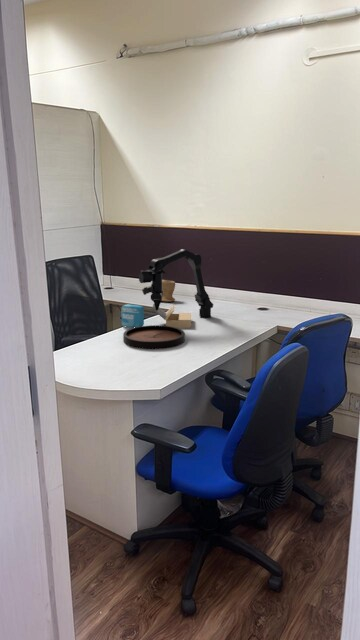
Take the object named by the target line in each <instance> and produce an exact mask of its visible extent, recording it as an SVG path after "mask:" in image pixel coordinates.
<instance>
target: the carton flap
mask: <svg viewBox="0 0 360 640" xmlns="http://www.w3.org/2000/svg"><path fill="white" fill-rule="evenodd" d="M151 310H152V311H154V312H155V313H156V314H157V315H158V316H160V318H162V319H163V320H164V321H166V320H167V319H168V317H169V316H170V315H171V314H174V313H175V312H174V311H175V304H173V305H172V306H170V308H169V309H168V310H167V311H166V312H165V311H164V310H163V309H162V308H160V307H159V308H158V310H156V309H155V304H154V303H153V304H152V307H151Z"/></svg>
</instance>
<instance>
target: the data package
mask: <svg viewBox="0 0 360 640" xmlns="http://www.w3.org/2000/svg"><path fill="white" fill-rule="evenodd" d="M144 308H145V307H144V306H143V305H140V304H128V303H127V304H124V305H122V306H121V312H120V313H121V314H120V315H121V325H122V326H123V327H126V328H134V327H140V326H145V311H144V310H145V309H144Z"/></svg>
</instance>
